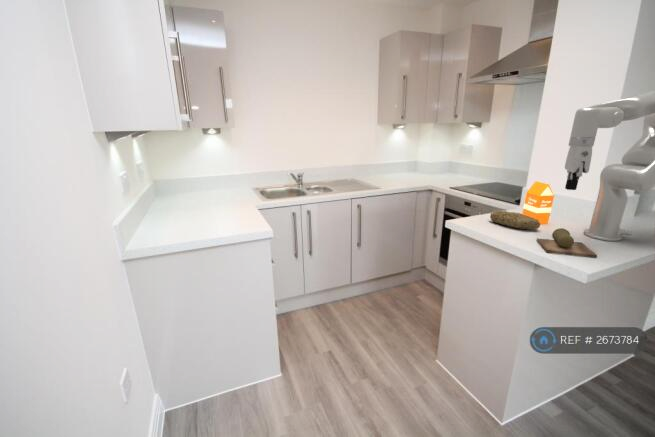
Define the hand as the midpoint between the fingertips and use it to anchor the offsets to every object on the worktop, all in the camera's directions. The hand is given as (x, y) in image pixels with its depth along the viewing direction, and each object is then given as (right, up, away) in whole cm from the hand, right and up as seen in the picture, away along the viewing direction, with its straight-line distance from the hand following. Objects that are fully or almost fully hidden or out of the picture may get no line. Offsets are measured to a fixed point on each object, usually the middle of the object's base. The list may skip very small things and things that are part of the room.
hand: (570, 189), depth 122 cm
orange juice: (+8, -13, +34) cm, 37 cm away
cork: (+1, -19, +6) cm, 20 cm away
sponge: (-6, -16, +27) cm, 32 cm away
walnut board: (-2, -24, 0) cm, 24 cm away
